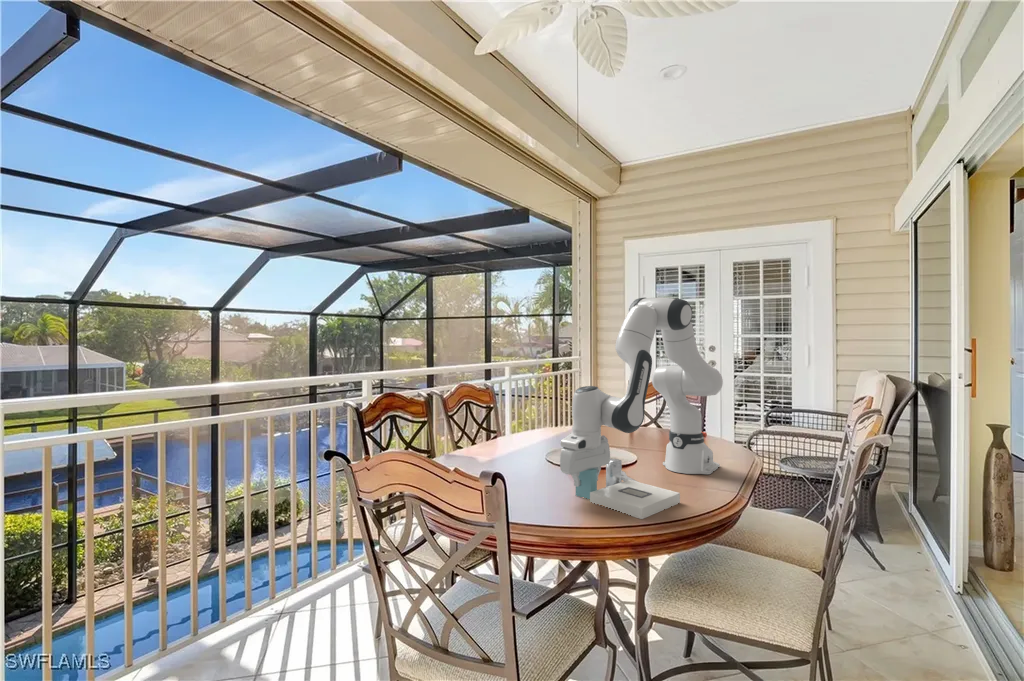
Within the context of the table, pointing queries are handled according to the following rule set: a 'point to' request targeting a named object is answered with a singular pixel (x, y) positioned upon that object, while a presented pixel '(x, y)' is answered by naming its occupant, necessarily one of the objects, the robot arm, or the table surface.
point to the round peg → (613, 472)
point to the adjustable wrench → (626, 477)
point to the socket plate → (635, 498)
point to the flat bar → (587, 483)
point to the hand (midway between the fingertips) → (586, 483)
